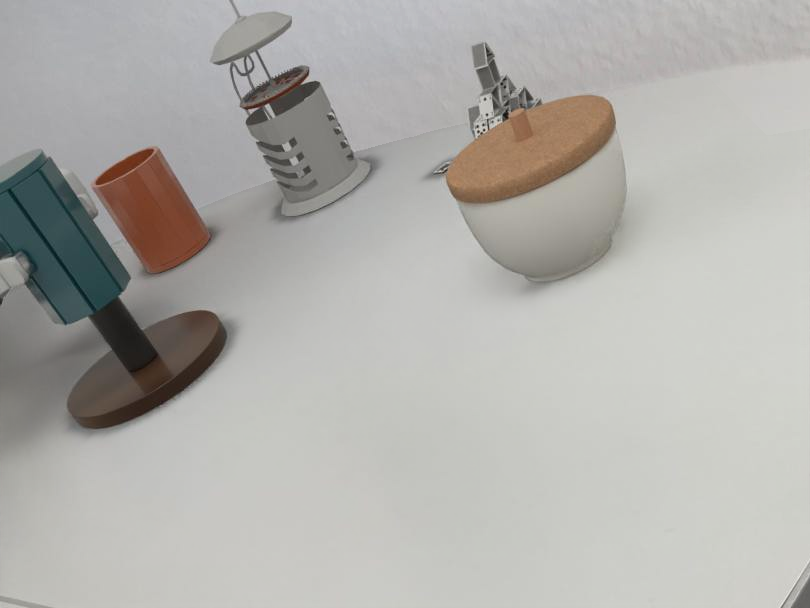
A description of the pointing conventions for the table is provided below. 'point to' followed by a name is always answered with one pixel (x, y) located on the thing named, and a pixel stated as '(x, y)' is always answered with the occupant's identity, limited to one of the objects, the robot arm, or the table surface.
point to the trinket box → (544, 187)
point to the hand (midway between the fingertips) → (58, 235)
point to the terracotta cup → (151, 210)
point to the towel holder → (143, 364)
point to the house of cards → (493, 95)
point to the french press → (291, 120)
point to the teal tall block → (56, 240)
